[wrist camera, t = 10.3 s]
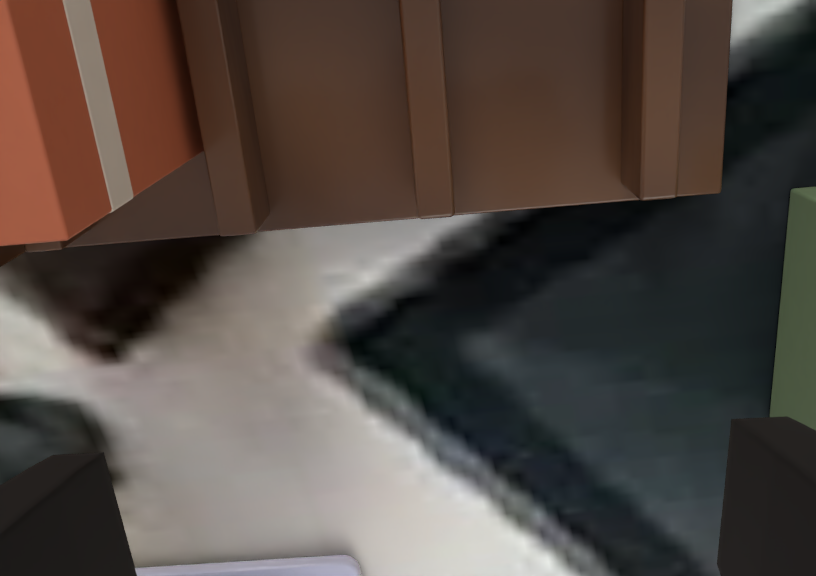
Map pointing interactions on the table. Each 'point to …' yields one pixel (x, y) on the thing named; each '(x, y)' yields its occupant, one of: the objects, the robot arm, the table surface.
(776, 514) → the robot arm
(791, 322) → the green book
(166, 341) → the table surface
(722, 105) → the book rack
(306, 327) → the table surface
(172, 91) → the terracotta book
